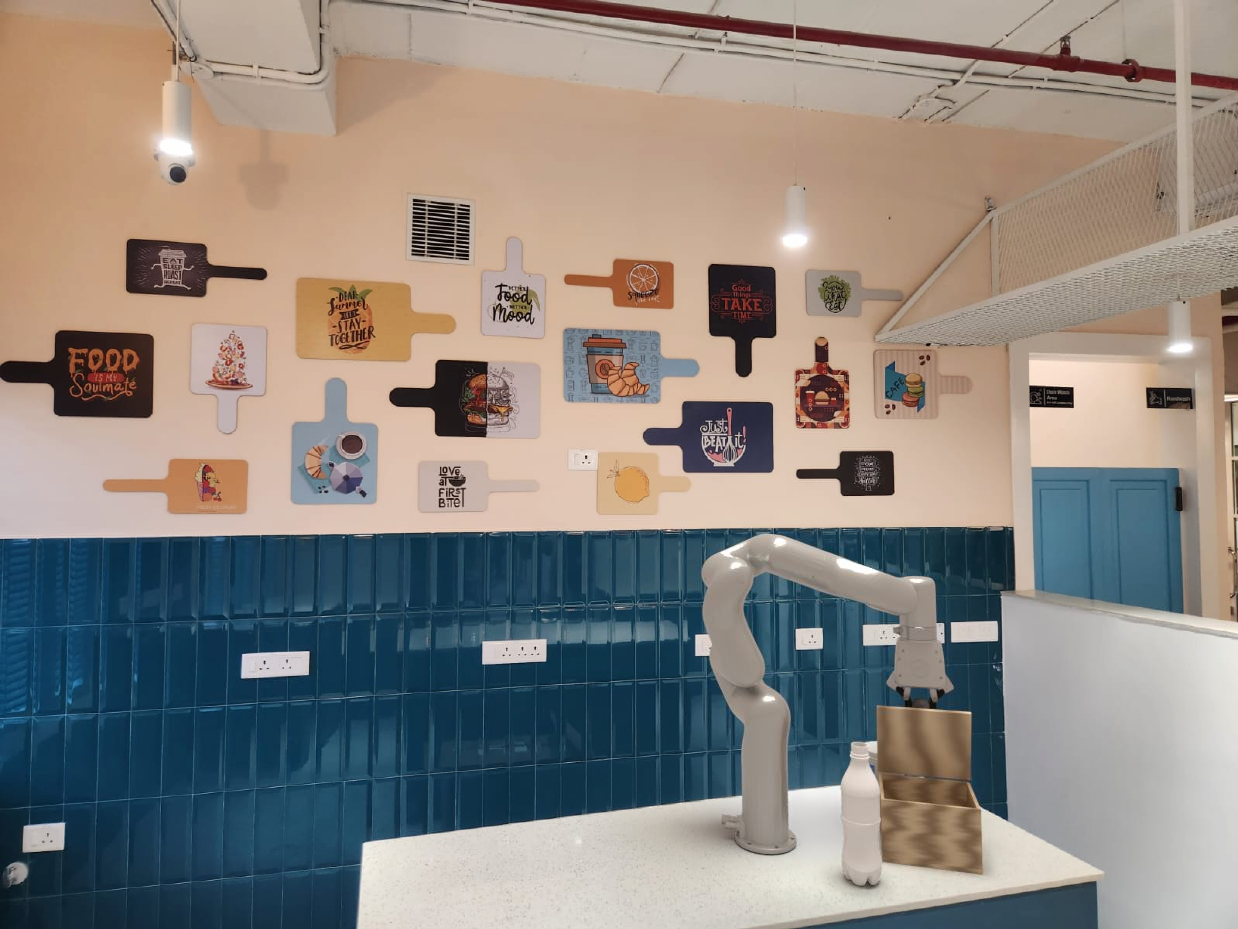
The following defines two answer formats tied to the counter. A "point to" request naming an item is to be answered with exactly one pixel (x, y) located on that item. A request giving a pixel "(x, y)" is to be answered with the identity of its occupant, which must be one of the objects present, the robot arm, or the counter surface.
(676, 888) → the counter surface
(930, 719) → the lid
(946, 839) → the wooden box
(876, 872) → the water bottle
